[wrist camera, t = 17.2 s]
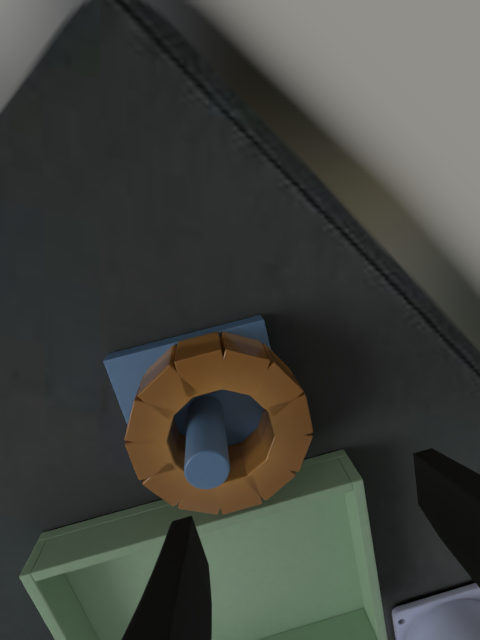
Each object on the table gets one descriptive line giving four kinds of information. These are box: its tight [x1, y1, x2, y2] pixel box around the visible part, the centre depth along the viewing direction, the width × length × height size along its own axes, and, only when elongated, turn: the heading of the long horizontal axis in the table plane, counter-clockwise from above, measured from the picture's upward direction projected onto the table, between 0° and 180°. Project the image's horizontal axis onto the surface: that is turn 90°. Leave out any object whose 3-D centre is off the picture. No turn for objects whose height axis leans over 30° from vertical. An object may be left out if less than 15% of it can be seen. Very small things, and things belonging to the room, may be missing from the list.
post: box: [103, 315, 270, 489], centre depth 16 cm, size 8×8×6 cm
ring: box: [124, 331, 313, 515], centre depth 16 cm, size 8×8×3 cm
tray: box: [19, 449, 387, 640], centre depth 21 cm, size 18×13×3 cm
